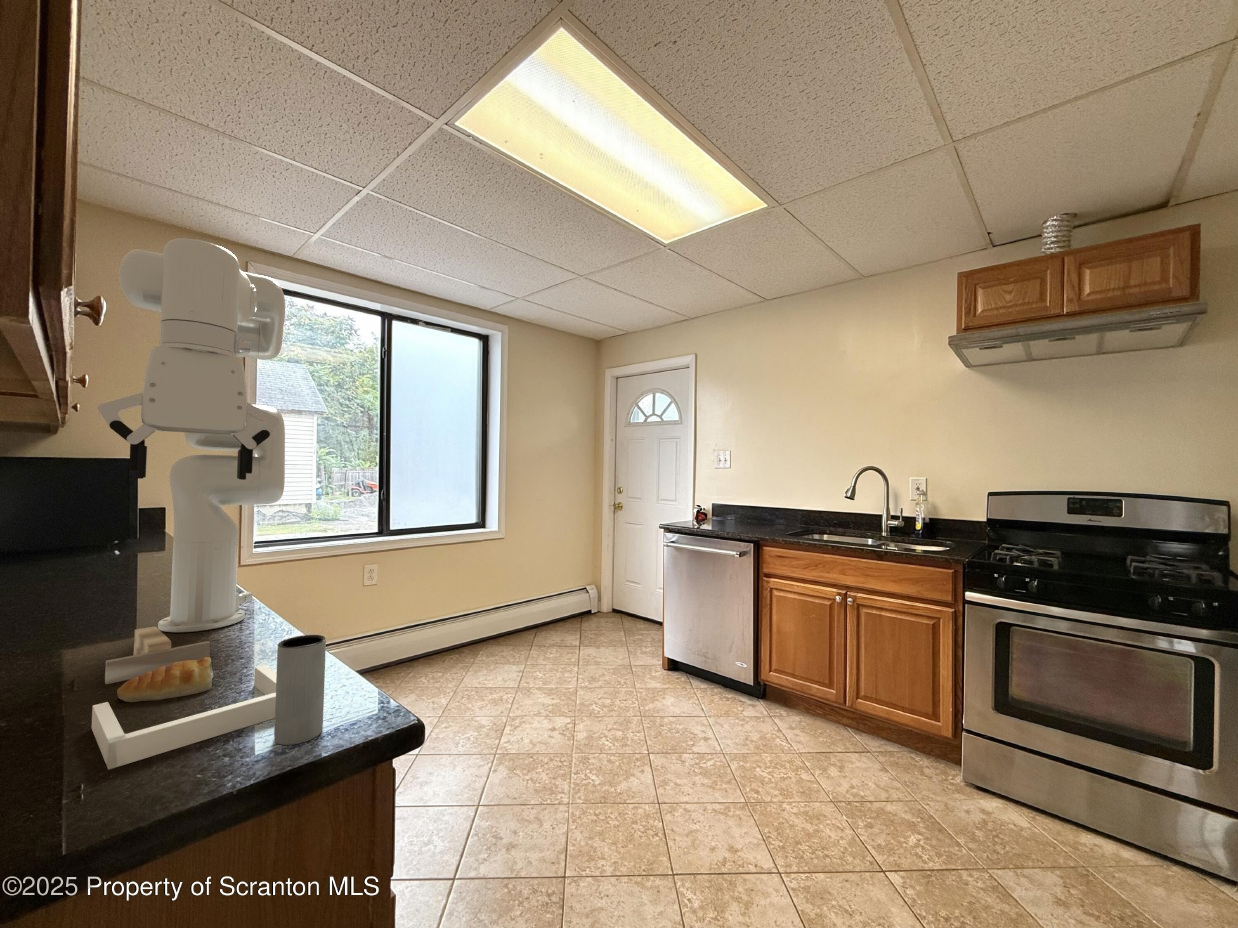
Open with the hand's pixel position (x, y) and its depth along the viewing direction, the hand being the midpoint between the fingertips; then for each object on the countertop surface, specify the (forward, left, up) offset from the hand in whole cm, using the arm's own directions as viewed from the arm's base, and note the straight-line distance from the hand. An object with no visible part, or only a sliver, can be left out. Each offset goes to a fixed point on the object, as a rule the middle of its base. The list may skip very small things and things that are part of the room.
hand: (193, 478), depth 63 cm
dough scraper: (-13, -17, -28) cm, 35 cm away
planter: (+7, +19, -28) cm, 34 cm away
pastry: (-3, -4, -28) cm, 29 cm away
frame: (+4, +5, -28) cm, 28 cm away
